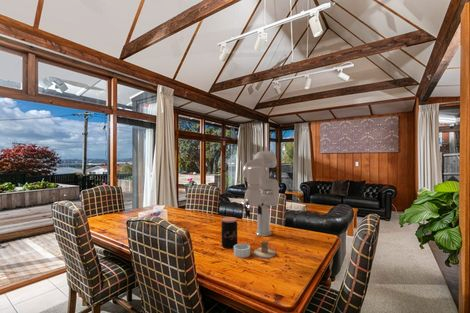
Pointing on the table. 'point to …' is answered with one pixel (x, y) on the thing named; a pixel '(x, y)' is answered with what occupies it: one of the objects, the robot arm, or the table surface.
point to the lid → (264, 251)
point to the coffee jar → (229, 232)
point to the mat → (259, 257)
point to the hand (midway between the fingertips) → (253, 215)
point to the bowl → (241, 250)
